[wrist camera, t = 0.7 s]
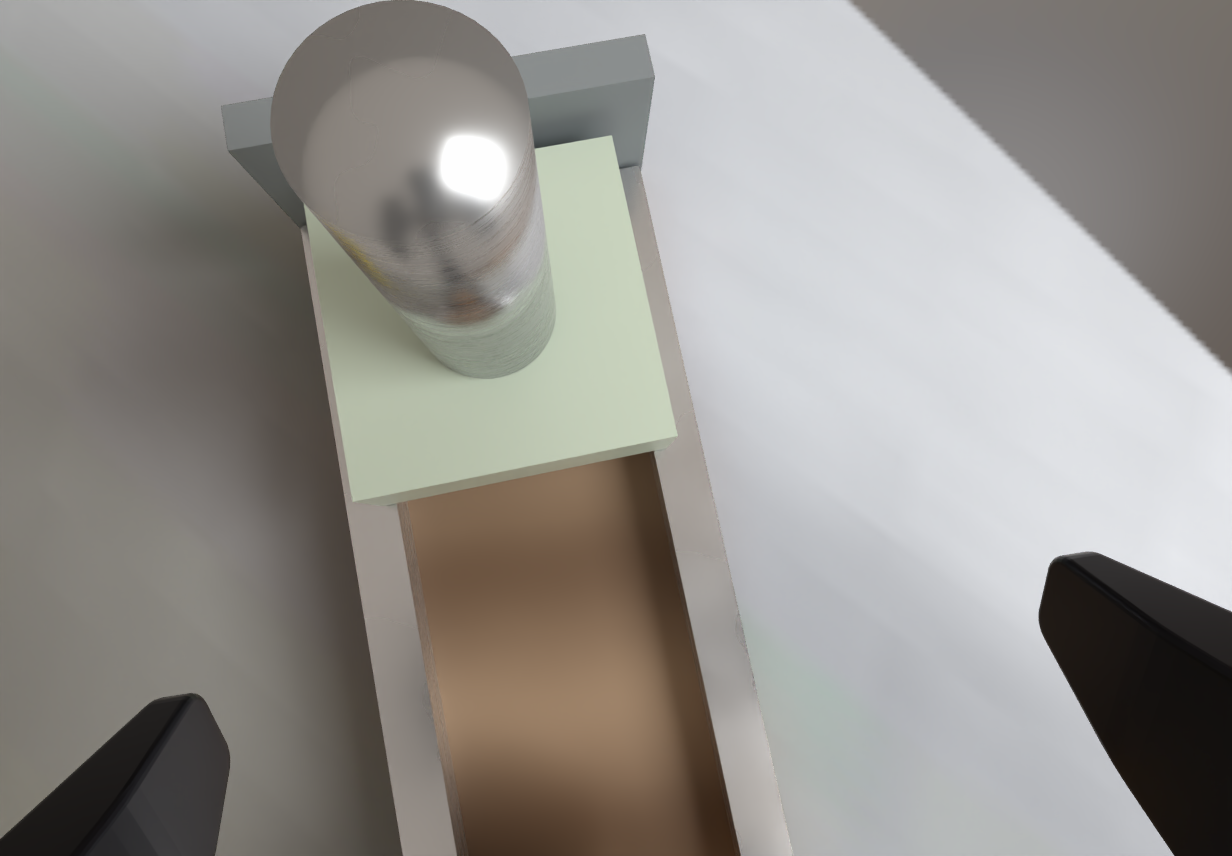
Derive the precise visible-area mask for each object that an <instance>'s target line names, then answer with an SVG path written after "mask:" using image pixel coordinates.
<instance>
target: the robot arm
mask: <svg viewBox="0 0 1232 856" xmlns="http://www.w3.org/2000/svg"><path fill="white" fill-rule="evenodd" d="M1039 625H1040V629H1041V632H1042V634H1043V636H1044V639H1045V640H1046V642H1047V644H1048V646H1049V648H1050V650H1051V652H1052V653H1053V655H1054V657H1055V659H1056V661H1057V663H1058V664H1059V666H1060V668H1061V670H1062V672H1063V674H1064V676H1065V677H1066V679H1067V681H1068V683H1069V685H1070V687H1071V689H1072V690H1073V692H1074V694H1075V696H1076V698H1077V700H1078V701H1079V703H1080V705H1081V707H1082V709H1083V711H1084V713H1085V714H1086V716H1087V718H1088V720H1089V722H1090V724H1091V725H1092V727H1093V729H1094V731H1095V733H1096V735H1097V737H1098V738H1099V740H1100V742H1101V744H1102V746H1103V747H1104V749H1105V751H1106V752H1107V754H1108V756H1109V758H1110V759H1111V761H1112V763H1113V765H1114V766H1115V768H1116V769H1117V771H1118V772H1119V774H1120V775H1121V777H1122V779H1123V780H1124V782H1125V783H1126V785H1127V786H1128V788H1129V789H1130V791H1131V792H1132V794H1133V795H1134V797H1135V798H1136V800H1137V801H1138V803H1139V804H1140V806H1141V807H1142V809H1143V810H1144V812H1145V813H1146V814H1147V816H1148V817H1149V819H1150V820H1151V822H1152V823H1153V825H1154V826H1155V828H1156V829H1157V831H1158V832H1159V834H1160V835H1161V837H1162V838H1163V840H1164V841H1165V843H1166V844H1167V846H1168V847H1169V849H1170V850H1171V852H1172V853H1173V855H1174V856H1232V612H1231V611H1229V610H1227V609H1224V608H1222V607H1220V606H1218V605H1215V604H1213V603H1211V602H1208V601H1206V600H1204V599H1202V598H1199V597H1197V596H1195V595H1193V594H1190V593H1188V592H1186V591H1183V590H1181V589H1179V588H1177V587H1174V586H1172V585H1170V584H1168V583H1165V582H1163V581H1161V580H1159V579H1156V578H1154V577H1152V576H1149V575H1147V574H1145V573H1143V572H1140V571H1138V570H1136V569H1134V568H1131V567H1129V566H1127V565H1124V564H1122V563H1120V562H1118V561H1115V560H1113V559H1111V558H1109V557H1106V556H1104V555H1102V554H1099V553H1096V552H1081V553H1075V554H1069V555H1062V556H1059V557H1056V558H1055V559H1054V560H1053V561H1052V562H1051V563H1050V566H1049V568H1048V573H1047V577H1046V582H1045V586H1044V591H1043V595H1042V599H1041V604H1040V608H1039ZM229 769H230V754H229V749H228V745H227V743H226V741H225V739H224V737H223V735H222V733H221V731H220V729H219V727H218V725H217V723H216V721H215V719H214V717H213V715H212V713H211V711H210V709H209V707H208V705H207V704H206V702H205V700H204V699H203V698H202V697H201V696H200V695H198V694H193V693H188V694H182V695H176V696H169V697H163V698H159V699H156V700H154V701H152V702H151V703H149V704H148V705H147V706H146V707H144V708H143V709H142V710H141V711H140V712H139V713H138V714H137V715H136V716H135V717H134V718H132V719H131V720H130V721H129V722H128V723H127V724H126V725H125V726H124V727H123V728H121V729H120V730H119V731H118V732H117V733H116V734H115V735H114V736H113V737H112V738H111V739H109V740H108V741H107V742H106V743H105V744H104V745H103V746H102V747H101V748H100V749H98V750H97V751H96V752H95V753H94V754H93V755H92V756H91V757H90V758H89V759H87V760H86V761H85V762H84V763H83V764H82V765H81V766H80V767H79V768H78V769H77V770H75V771H74V772H73V773H72V774H71V775H70V776H69V777H68V778H67V779H66V780H64V781H63V782H62V783H61V784H60V785H59V786H58V787H57V788H56V789H55V790H54V791H52V792H51V793H50V794H49V795H48V796H47V797H46V798H45V799H44V800H43V801H41V802H40V803H39V804H38V805H37V806H36V807H35V808H34V809H33V810H32V811H31V812H29V813H28V814H27V815H26V816H25V817H24V818H23V819H22V820H21V821H20V822H18V823H17V824H16V825H15V826H14V827H13V828H12V829H11V830H10V831H9V832H7V833H6V834H5V835H4V836H3V837H2V838H1V839H0V856H215V852H216V846H217V840H218V835H219V829H220V823H221V817H222V811H223V805H224V799H225V794H226V788H227V782H228V776H229Z"/></svg>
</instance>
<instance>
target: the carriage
mask: <svg viewBox="0 0 1232 856" xmlns="http://www.w3.org/2000/svg"><path fill="white" fill-rule="evenodd" d="M270 129H271V140H272V144H273V149H274V153H275V157H276V159H277V162H278V164H279V167H280V169H281V171H282V173H283V175H284V177H285V179H286V180H287V182H288V184H289V185H290V187H291V188H292V189H293V191H294V192H295V193H296V194H297V196H298V197H299V198H300V199H301V201H302V202H303V203H304V209H305V215H306V221H307V228H308V234H309V240H310V246H311V252H312V258H313V264H314V270H315V276H316V282H317V288H318V295H319V301H320V307H321V313H322V319H323V325H324V331H325V337H326V343H327V349H328V355H329V362H330V368H331V374H332V380H333V386H334V392H335V398H336V404H337V410H338V416H339V422H340V429H341V435H342V441H343V447H344V453H345V459H346V465H347V471H348V477H349V483H350V489H351V496H352V502H357V503H364V504H371V505H378V506H385V505H390V504H395V503H400V502H405V501H410V500H415V499H420V498H425V497H430V496H434V495H439V494H444V493H449V492H454V491H459V490H464V489H469V488H474V487H479V486H483V485H488V484H493V483H498V482H503V481H508V480H513V479H518V478H523V477H528V476H533V475H537V474H542V473H547V472H552V471H557V470H562V469H567V468H572V467H577V466H582V465H587V464H591V463H596V462H601V461H606V460H611V459H616V458H621V457H626V456H631V455H636V454H641V453H645V452H650V451H655V450H660V449H665V448H667V447H668V446H669V445H670V444H671V443H672V442H673V441H674V440H675V438H676V437H677V436H678V434H677V430H676V425H675V421H674V416H673V412H672V407H671V403H670V398H669V393H668V389H667V384H666V380H665V375H664V371H663V366H662V361H661V357H660V352H659V348H658V343H657V339H656V334H655V330H654V325H653V320H652V316H651V311H650V307H649V302H648V298H647V293H646V289H645V284H644V279H643V275H642V270H641V266H640V261H639V257H638V252H637V248H636V243H635V238H634V234H633V229H632V225H631V220H630V216H629V211H628V207H627V202H626V197H625V193H624V188H623V184H622V179H621V175H620V170H619V166H618V161H617V156H616V152H615V147H614V143H613V138H612V135H610V136H605V137H599V138H593V139H588V140H582V141H576V142H571V143H565V144H559V145H554V146H548V147H542V148H537V149H535V148H534V141H533V133H532V126H531V119H530V111H529V104H528V96H527V93H526V89H525V85H524V82H523V79H522V77H521V75H520V72H519V70H518V68H517V66H516V64H515V62H514V61H513V59H512V58H511V56H510V54H509V53H508V51H507V50H506V49H505V48H504V47H503V45H502V44H501V43H500V42H499V41H498V40H497V39H496V38H495V37H494V36H493V35H492V34H491V33H490V32H489V31H488V30H487V29H485V28H484V27H483V26H481V25H480V24H478V23H477V22H476V21H474V20H473V19H471V18H469V17H467V16H465V15H463V14H462V13H460V12H457V11H455V10H452V9H450V8H447V7H444V6H441V5H437V4H433V3H429V2H422V1H415V0H391V1H381V2H376V3H371V4H367V5H363V6H360V7H357V8H354V9H351V10H349V11H346V12H344V13H342V14H340V15H338V16H336V17H334V18H332V19H331V20H329V21H328V22H326V23H325V24H323V25H322V26H320V27H319V28H318V29H316V30H315V31H314V32H313V33H312V34H311V35H309V36H308V37H307V38H306V39H305V40H304V41H303V42H302V44H301V45H300V46H299V47H298V48H297V49H296V50H295V52H294V53H293V55H292V56H291V58H290V59H289V60H288V62H287V63H286V65H285V67H284V69H283V71H282V73H281V75H280V77H279V80H278V83H277V86H276V88H275V91H274V95H273V100H272V105H271V116H270Z"/></svg>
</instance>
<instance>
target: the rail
mask: <svg viewBox="0 0 1232 856" xmlns="http://www.w3.org/2000/svg"><path fill="white" fill-rule="evenodd" d="M511 58H512V59H513V61H514V62H515V64H516V66H517V68H518V70H519V72H520V75H521V77H522V79H523V82H524V85H525V89H526V93H527V96H528V104H529V111H530V119H531V126H532V133H533V141H534V148H535V149H537V148H542V147H548V146H554V145H559V144H565V143H571V142H576V141H582V140H588V139H593V138H599V137H605V136H610V135H612V138H613V143H614V147H615V152H616V156H617V161H618V166H619V170H620V175H621V179H622V184H623V188H624V193H625V197H626V202H627V207H628V211H629V216H630V220H631V225H632V229H633V234H634V238H635V243H636V248H637V252H638V257H639V261H640V266H641V270H642V275H643V279H644V284H645V289H646V293H647V298H648V302H649V307H650V311H651V316H652V320H653V325H654V330H655V334H656V339H657V343H658V348H659V352H660V357H661V361H662V366H663V371H664V375H665V380H666V384H667V389H668V393H669V398H670V403H671V407H672V412H673V416H674V421H675V425H676V430H677V434H678V436H677V437H676V438H675V440H674V441H673V442H672V443H671V444H670V445H669V446H668V447H667V448H665V449H660V450H655V451H650V452H645V453H641V454H636V455H631V456H626V457H621V458H616V459H611V460H606V461H601V462H596V463H591V464H587V465H582V466H577V467H572V468H567V469H562V470H557V471H552V472H547V473H542V474H537V475H533V476H528V477H523V478H518V479H513V480H508V481H503V482H498V483H493V484H488V485H483V486H479V487H474V488H469V489H464V490H459V491H454V492H449V493H444V494H439V495H434V496H430V497H425V498H420V499H415V500H410V501H405V502H400V503H395V504H390V505H385V506H378V505H371V504H364V503H357V502H352V496H351V489H350V483H349V477H348V471H347V465H346V459H345V453H344V447H343V441H342V435H341V429H340V422H339V416H338V410H337V404H336V398H335V392H334V386H333V380H332V374H331V368H330V362H329V355H328V349H327V343H326V337H325V331H324V325H323V319H322V313H321V307H320V301H319V295H318V288H317V282H316V276H315V270H314V264H313V258H312V252H311V246H310V240H309V234H308V228H307V221H306V215H305V209H304V203H303V202H302V201H301V199H300V198H299V197H298V196H297V194H296V193H295V192H294V191H293V189H292V188H291V187H290V185H289V184H288V182H287V180H286V179H285V177H284V175H283V173H282V171H281V169H280V167H279V164H278V162H277V159H276V157H275V153H274V149H273V144H272V140H271V129H270V116H271V105H272V100H273V97H270V98H265V99H259V100H253V101H247V102H241V103H235V104H229V105H223V106H221V110H222V117H223V123H224V130H225V136H226V143H227V149H228V151H229V153H230V154H231V155H232V156H233V157H234V158H235V159H236V160H237V161H238V162H239V163H240V164H241V165H242V166H243V168H244V169H245V170H246V171H247V172H248V173H249V174H250V175H251V176H252V177H253V178H254V179H255V180H256V181H257V183H258V184H259V185H260V186H261V187H262V188H263V189H264V190H265V191H266V192H267V193H268V194H269V195H270V196H271V198H272V199H273V200H274V201H275V202H276V203H277V204H278V205H279V206H280V207H281V208H282V209H283V210H284V211H285V212H286V214H287V215H288V216H289V217H290V218H291V219H292V220H293V221H294V222H295V223H296V224H297V225H298V226H299V227H300V229H301V234H302V240H303V246H304V252H305V258H306V264H307V270H308V277H309V283H310V289H311V295H312V301H313V307H314V313H315V319H316V326H317V332H318V338H319V344H320V350H321V356H322V362H323V369H324V375H325V381H326V387H327V393H328V399H329V405H330V412H331V418H332V424H333V430H334V436H335V442H336V448H337V454H338V461H339V467H340V473H341V479H342V485H343V491H344V497H345V504H346V510H347V516H348V522H349V528H350V534H351V540H352V546H353V553H354V559H355V565H356V571H357V577H358V583H359V589H360V596H361V602H362V608H363V614H364V620H365V626H366V632H367V639H368V645H369V651H370V657H371V663H372V669H373V675H374V681H375V688H376V694H377V700H378V706H379V712H380V718H381V724H382V731H383V737H384V743H385V749H386V755H387V761H388V767H389V773H390V780H391V786H392V792H393V798H394V804H395V810H396V816H397V823H398V829H399V835H400V841H401V847H402V853H403V856H793V852H792V847H791V843H790V838H789V834H788V829H787V825H786V820H785V816H784V812H783V807H782V803H781V798H780V794H779V789H778V785H777V780H776V776H775V771H774V767H773V762H772V758H771V753H770V749H769V744H768V740H767V735H766V731H765V726H764V722H763V717H762V713H761V708H760V704H759V699H758V695H757V690H756V686H755V682H754V677H753V673H752V668H751V664H750V659H749V655H748V650H747V646H746V641H745V637H744V632H743V628H742V623H741V619H740V614H739V610H738V605H737V601H736V596H735V592H734V587H733V583H732V578H731V574H730V569H729V565H728V560H727V556H726V552H725V547H724V543H723V538H722V534H721V529H720V525H719V520H718V516H717V511H716V507H715V502H714V498H713V493H712V489H711V484H710V480H709V475H708V471H707V466H706V462H705V457H704V453H703V448H702V444H701V439H700V435H699V430H698V426H697V422H696V417H695V413H694V408H693V404H692V399H691V395H690V390H689V386H688V381H687V377H686V372H685V368H684V363H683V359H682V354H681V350H680V345H679V341H678V336H677V332H676V327H675V323H674V318H673V314H672V309H671V305H670V301H669V296H668V292H667V287H666V283H665V278H664V274H663V269H662V265H661V260H660V256H659V251H658V247H657V242H656V238H655V233H654V229H653V224H652V220H651V215H650V211H649V206H648V202H647V197H646V193H645V188H644V184H643V179H642V175H641V167H642V160H643V153H644V147H645V140H646V133H647V126H648V120H649V113H650V106H651V99H652V93H653V86H654V79H655V75H654V71H653V67H652V62H651V58H650V54H649V49H648V45H647V40H646V36H645V34H643V35H637V36H631V37H625V38H619V39H613V40H607V41H602V42H596V43H590V44H584V45H578V46H572V47H566V48H560V49H554V50H548V51H542V52H536V53H531V54H525V55H519V56H513V57H511Z"/></svg>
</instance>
